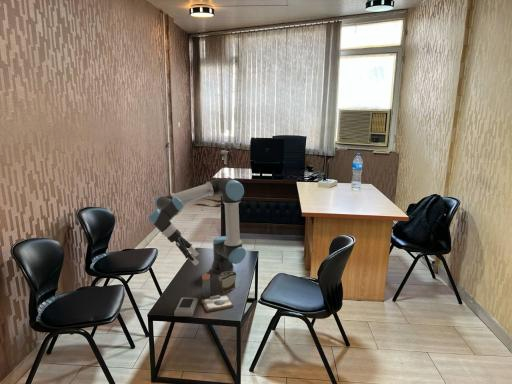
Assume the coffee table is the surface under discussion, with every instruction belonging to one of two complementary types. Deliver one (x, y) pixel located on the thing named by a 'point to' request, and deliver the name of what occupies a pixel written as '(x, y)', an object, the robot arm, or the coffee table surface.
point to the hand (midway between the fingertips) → (197, 259)
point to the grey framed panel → (186, 307)
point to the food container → (227, 280)
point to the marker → (206, 285)
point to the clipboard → (217, 303)
